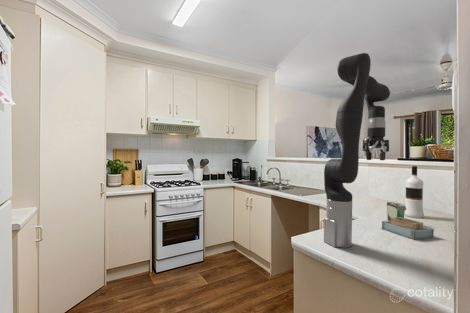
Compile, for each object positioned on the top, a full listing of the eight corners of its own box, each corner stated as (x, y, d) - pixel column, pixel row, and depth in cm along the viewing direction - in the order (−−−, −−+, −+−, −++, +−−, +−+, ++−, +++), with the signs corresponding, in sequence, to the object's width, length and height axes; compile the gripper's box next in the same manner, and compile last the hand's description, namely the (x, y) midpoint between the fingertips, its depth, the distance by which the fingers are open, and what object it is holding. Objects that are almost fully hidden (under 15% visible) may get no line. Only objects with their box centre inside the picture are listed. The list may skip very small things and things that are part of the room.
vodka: (411, 218, 129) (412, 166, 129) (400, 214, 138) (401, 165, 138) (428, 218, 128) (428, 166, 128) (415, 214, 138) (416, 166, 138)
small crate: (412, 235, 96) (412, 223, 96) (390, 228, 106) (390, 217, 106) (423, 234, 98) (423, 222, 98) (400, 227, 108) (400, 216, 108)
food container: (411, 227, 111) (411, 207, 111) (397, 226, 112) (397, 206, 112) (398, 220, 123) (398, 202, 123) (386, 219, 124) (386, 201, 125)
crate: (413, 239, 93) (413, 230, 93) (381, 229, 107) (382, 221, 107) (433, 237, 97) (433, 228, 97) (400, 227, 111) (400, 219, 111)
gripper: (371, 125, 106) (371, 160, 105) (394, 127, 110) (393, 160, 109) (358, 127, 113) (358, 159, 113) (380, 129, 117) (380, 160, 117)
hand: (375, 160), depth 111 cm, fingers open, 8 cm apart
